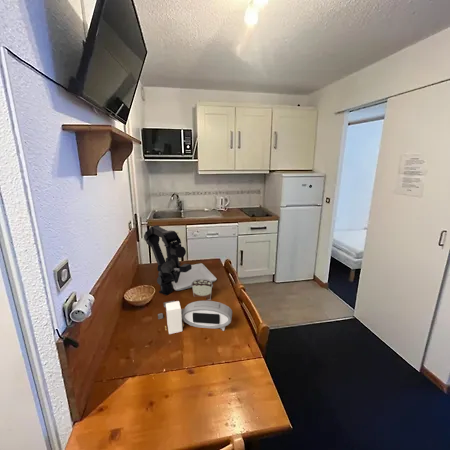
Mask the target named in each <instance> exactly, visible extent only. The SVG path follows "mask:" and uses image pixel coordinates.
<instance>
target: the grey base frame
mask: <svg viewBox="0 0 450 450" xmlns="http://www.w3.org/2000/svg"><path fill="white" fill-rule="evenodd" d="M171 302H176V301H175V300H170V301H166V302H163V307H164V308H166V303H171ZM184 309H185V308H181V316H182V313H183V311H184ZM157 319H158V320H160V319H161V320H162V319H164V314H163V313H162V312H161V313H158V314H157ZM184 323H185V322H184V321H182V328H183V327H185V324H184ZM164 330H165V331H167V326H166V325H164Z"/></svg>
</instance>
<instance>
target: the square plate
mask: <svg viewBox="0 0 450 450" xmlns="http://www.w3.org/2000/svg"><path fill="white" fill-rule="evenodd" d="M190 265H191V266H192V269H191V270H189V271H188V272H181V273H180V276H179V279H178V282H177V283H175V281H174V282H172V289H174V291H177V292H178V291H183V290H186V289H192V286H191V284H192V282H193V281H195V280H197V279H208V280H210V281H211V282H212V283H214V282H216V281H217V277H216V276H215V275H214V274H213V272H211V271H210V270H209V269H208V268H207V267H206V266H205V264H203V263H201V262H200V263H196V264H190Z"/></svg>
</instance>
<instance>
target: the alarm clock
mask: <svg viewBox="0 0 450 450" xmlns="http://www.w3.org/2000/svg"><path fill="white" fill-rule="evenodd" d="M183 309H184V311H183V313H182V315H181V317H182V322H184V323H186V324H187V325H189V326H191V327H194V328H203V329H215V330H217V329H220V331H223V332H224V331H225V329H226V327H227V326H229V325H230V324H231V323H232V317H233V310H232V308H231V307H230V306H228V305H226V304H225V303H222V302H219V301H213V300H197V301H192V302H190V303H188V304H187V305H186V306H185V307H184V308H183Z"/></svg>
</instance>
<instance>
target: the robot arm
mask: <svg viewBox="0 0 450 450" xmlns="http://www.w3.org/2000/svg"><path fill="white" fill-rule="evenodd" d="M160 239H161V241H162V242H163V244H164V245H163V246H164V247H165V250H166V251H165V252H166V257H165V256H164V254H163V252H162V249H161V246H160ZM143 240H144V241H145V242H146V244H147V245H148V246H149V247H150V248H151V250H152V254H153V256H154V259H155V261H156V264H157V267H156V268H157V272H158V276H157V279H156V282H157V284H158V285H159V286H160V290H159V291H158V293H159V294H162V295H165V296H168V295H170V294H171V293H173V292H174V291H175V289H174V288H173V286H172V282H174V281H175V283H177V282H178V279H179V276H180V273H181V272H188V271H189V270H191V269H192V266H191V265H192V264H191V263H184V264H182V263H181V262H180V261H179V260H180V259H183V258H184V257H185V255H186V252H187V251H186V248H185V247H184V246H182V240H181V238H180V237H179V235H178V233H177V232H176V231H175V230H166V229H165V228H163V227H160V225H152V226H150V227H149V229H148V230H146V231H145V233H144V235H143ZM181 264H182V265H181Z"/></svg>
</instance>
